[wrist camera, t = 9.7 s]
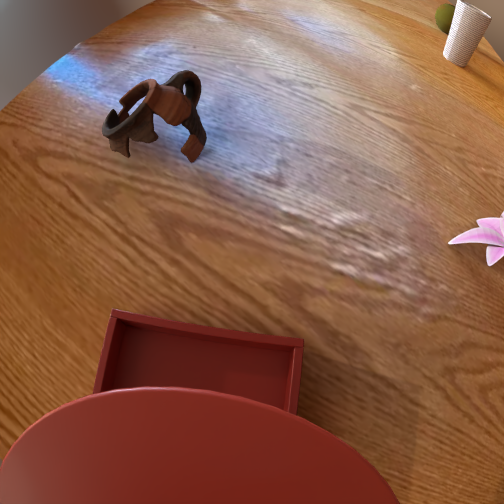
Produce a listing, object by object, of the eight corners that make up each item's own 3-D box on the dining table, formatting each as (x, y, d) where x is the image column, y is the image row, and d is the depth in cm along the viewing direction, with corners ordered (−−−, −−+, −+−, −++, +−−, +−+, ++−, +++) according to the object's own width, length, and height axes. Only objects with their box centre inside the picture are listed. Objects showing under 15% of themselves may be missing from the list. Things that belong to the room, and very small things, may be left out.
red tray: (271, 539, 15) (275, 552, 13) (92, 502, 16) (77, 509, 13) (297, 346, 23) (304, 338, 20) (123, 319, 23) (111, 308, 21)
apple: (465, 44, 61) (476, 15, 52) (437, 32, 62) (448, 2, 52) (453, 31, 66) (463, 5, 56) (427, 21, 66) (436, -7, 57)
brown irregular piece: (187, 190, 29) (126, 137, 23) (134, 184, 35) (82, 144, 28) (239, 98, 32) (197, 42, 25) (182, 105, 37) (141, 63, 31)
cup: (475, 71, 51) (498, 21, 37) (457, 70, 49) (481, 14, 35) (450, 51, 55) (469, 2, 41) (431, 49, 53) (450, -5, 39)
